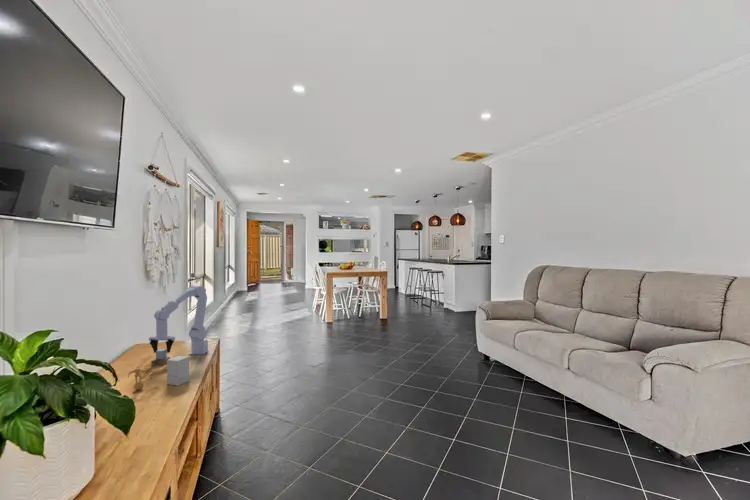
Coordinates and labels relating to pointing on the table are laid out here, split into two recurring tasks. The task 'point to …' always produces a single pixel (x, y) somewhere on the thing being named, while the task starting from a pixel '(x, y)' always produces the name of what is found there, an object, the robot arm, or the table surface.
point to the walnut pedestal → (159, 361)
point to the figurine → (139, 384)
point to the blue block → (161, 354)
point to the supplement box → (177, 370)
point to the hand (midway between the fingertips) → (162, 352)
